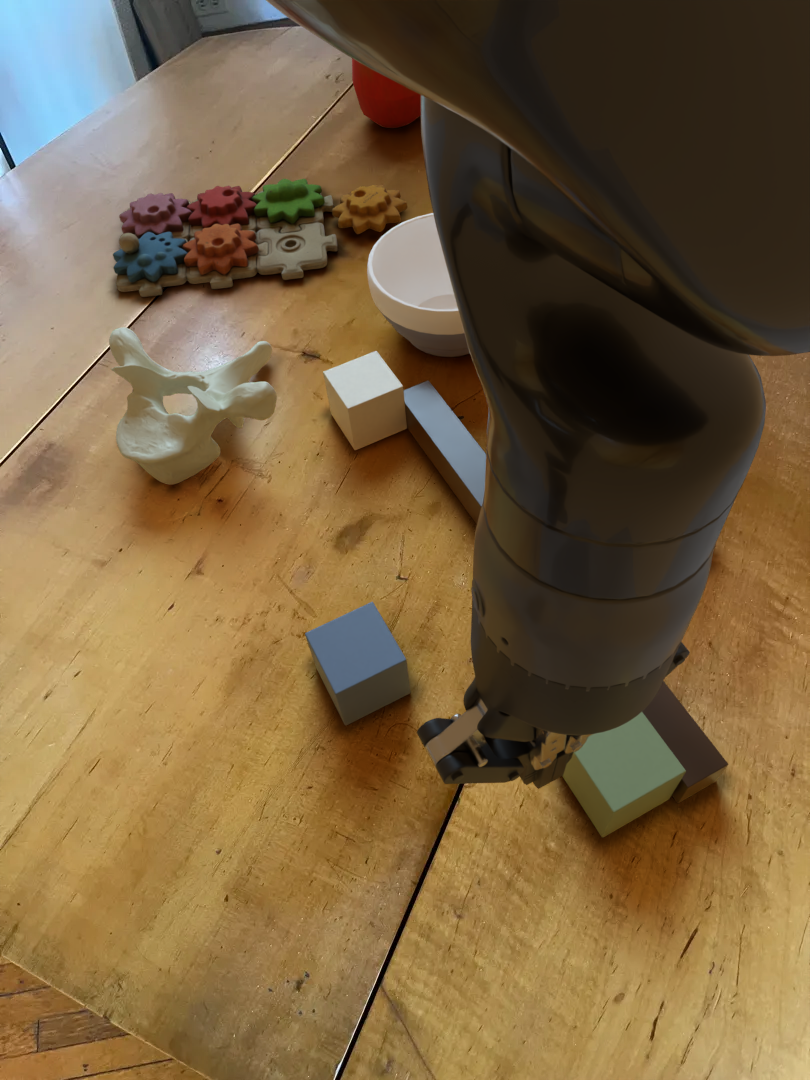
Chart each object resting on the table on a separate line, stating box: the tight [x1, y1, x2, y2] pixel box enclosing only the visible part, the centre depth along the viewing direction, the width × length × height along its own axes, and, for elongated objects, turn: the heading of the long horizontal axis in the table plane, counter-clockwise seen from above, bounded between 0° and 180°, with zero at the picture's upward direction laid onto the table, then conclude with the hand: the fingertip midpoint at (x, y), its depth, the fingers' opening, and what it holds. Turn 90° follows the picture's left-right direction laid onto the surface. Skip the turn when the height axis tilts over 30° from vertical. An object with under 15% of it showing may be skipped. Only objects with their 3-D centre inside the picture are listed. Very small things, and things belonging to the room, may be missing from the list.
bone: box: [108, 326, 278, 486], centre depth 69 cm, size 13×15×8 cm
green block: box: [561, 712, 686, 838], centre depth 49 cm, size 5×5×5 cm
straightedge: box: [404, 379, 729, 804], centre depth 60 cm, size 3×38×3 cm, turn 27°
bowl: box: [366, 212, 470, 358], centre depth 74 cm, size 14×14×8 cm
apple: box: [351, 58, 421, 129], centre depth 95 cm, size 10×10×12 cm
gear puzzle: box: [112, 178, 408, 298], centre depth 86 cm, size 31×16×4 cm, turn 96°
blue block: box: [304, 601, 412, 726], centre depth 55 cm, size 5×5×5 cm
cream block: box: [322, 350, 408, 451], centre depth 69 cm, size 5×5×5 cm
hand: (539, 766), depth 42 cm, fingers closed
